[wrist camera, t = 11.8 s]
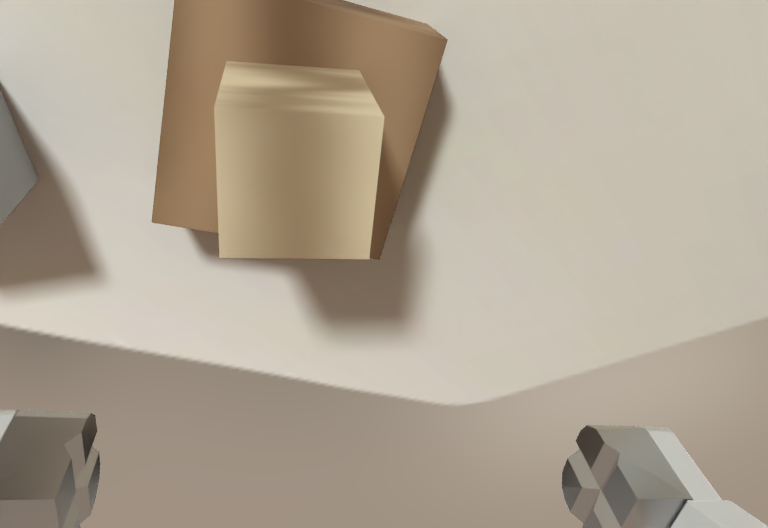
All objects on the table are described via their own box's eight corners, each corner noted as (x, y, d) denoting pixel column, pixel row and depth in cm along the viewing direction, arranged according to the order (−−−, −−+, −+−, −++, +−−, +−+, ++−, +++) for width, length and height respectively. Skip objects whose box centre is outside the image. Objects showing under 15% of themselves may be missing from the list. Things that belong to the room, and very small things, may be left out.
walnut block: (425, 22, 27) (447, 39, 23) (367, 221, 31) (379, 259, 28) (191, -44, 24) (178, -35, 21) (165, 184, 29) (151, 222, 25)
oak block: (359, 70, 23) (384, 116, 18) (349, 189, 26) (369, 259, 21) (226, 60, 22) (214, 107, 17) (229, 185, 25) (219, 257, 20)
